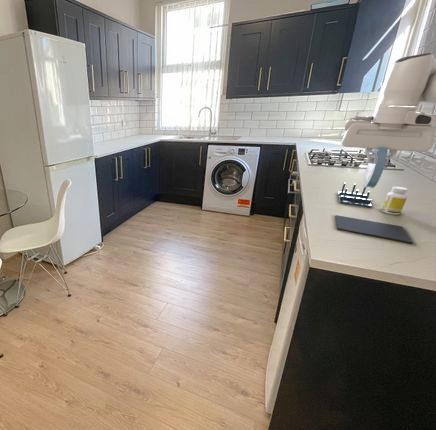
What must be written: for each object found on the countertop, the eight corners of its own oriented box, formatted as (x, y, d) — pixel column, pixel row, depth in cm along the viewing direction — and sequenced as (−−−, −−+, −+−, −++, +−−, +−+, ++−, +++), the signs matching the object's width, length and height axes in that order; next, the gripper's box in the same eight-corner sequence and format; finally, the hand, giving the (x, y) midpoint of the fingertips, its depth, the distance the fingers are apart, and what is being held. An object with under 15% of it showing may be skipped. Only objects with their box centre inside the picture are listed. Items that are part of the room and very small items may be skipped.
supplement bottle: (404, 214, 105) (414, 189, 101) (392, 215, 104) (402, 190, 100) (388, 209, 110) (398, 185, 106) (377, 210, 109) (386, 186, 105)
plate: (369, 183, 94) (383, 144, 90) (375, 192, 84) (391, 148, 80) (361, 182, 96) (374, 143, 91) (366, 191, 86) (381, 148, 81)
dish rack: (365, 197, 124) (370, 184, 121) (370, 208, 111) (376, 193, 109) (337, 193, 129) (341, 181, 127) (339, 203, 117) (343, 189, 114)
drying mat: (401, 228, 94) (402, 226, 94) (411, 244, 83) (412, 242, 83) (335, 216, 103) (335, 215, 103) (336, 229, 93) (337, 228, 92)
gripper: (348, 116, 85) (335, 161, 90) (445, 118, 74) (424, 169, 80) (347, 115, 90) (334, 158, 95) (438, 117, 79) (418, 165, 84)
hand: (376, 163), depth 87 cm, fingers closed on plate, 2 cm apart
